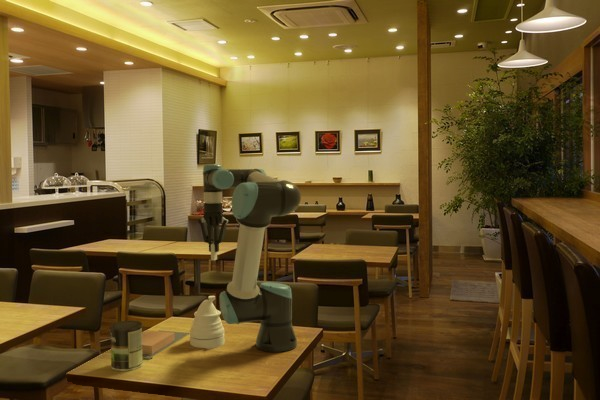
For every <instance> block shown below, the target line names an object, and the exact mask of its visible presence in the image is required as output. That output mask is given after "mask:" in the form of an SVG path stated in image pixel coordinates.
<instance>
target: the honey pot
mask: <svg viewBox="0 0 600 400" xmlns="http://www.w3.org/2000/svg"><path fill="white" fill-rule="evenodd" d="M215 300H216V296H215V295H209V296H208V298H207V299H204V300H203V301H202V302H201V303H200V305H199V306H198V308H197V311H195V312H194V313H193V315H194V318H193V321H192V325H191V327H190V328H191V329H190V330H189V333H190V334H189V344H190V346H192V347H195V348H201V349H204V350H210V349H217V348H219V347H222V346H224V345H225V342H226V340H225V328H224V326H223V323H222V319H221V317H220V315H222V312H221V310H218V309H217V308H216V306H215V305H214V303H213V302H214V301H215Z"/></svg>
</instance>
